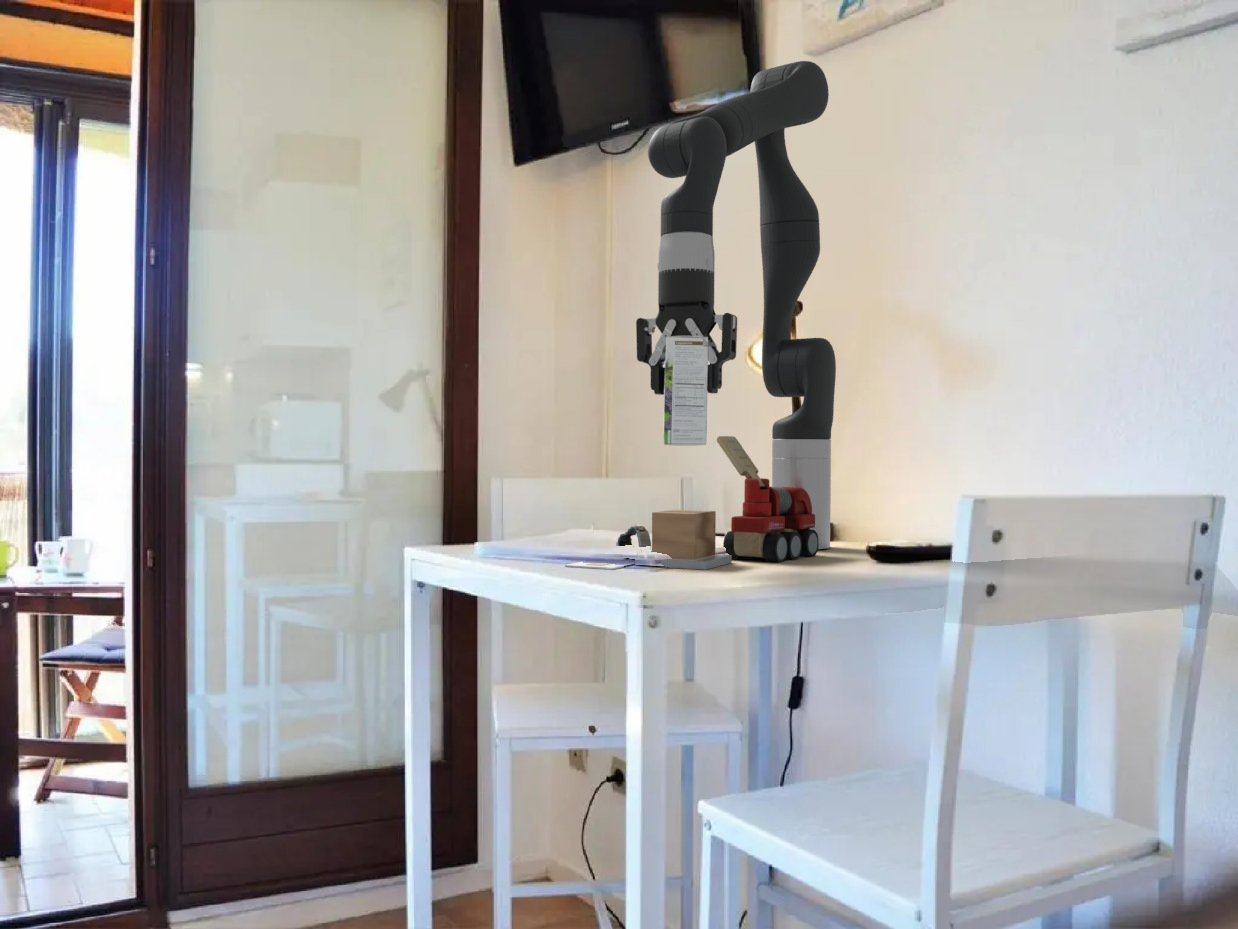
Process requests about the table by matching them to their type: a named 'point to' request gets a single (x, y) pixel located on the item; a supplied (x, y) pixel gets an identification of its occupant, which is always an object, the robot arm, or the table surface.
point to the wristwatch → (641, 535)
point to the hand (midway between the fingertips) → (685, 393)
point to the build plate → (698, 562)
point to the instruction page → (595, 565)
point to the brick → (684, 533)
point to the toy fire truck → (768, 515)
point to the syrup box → (685, 391)
